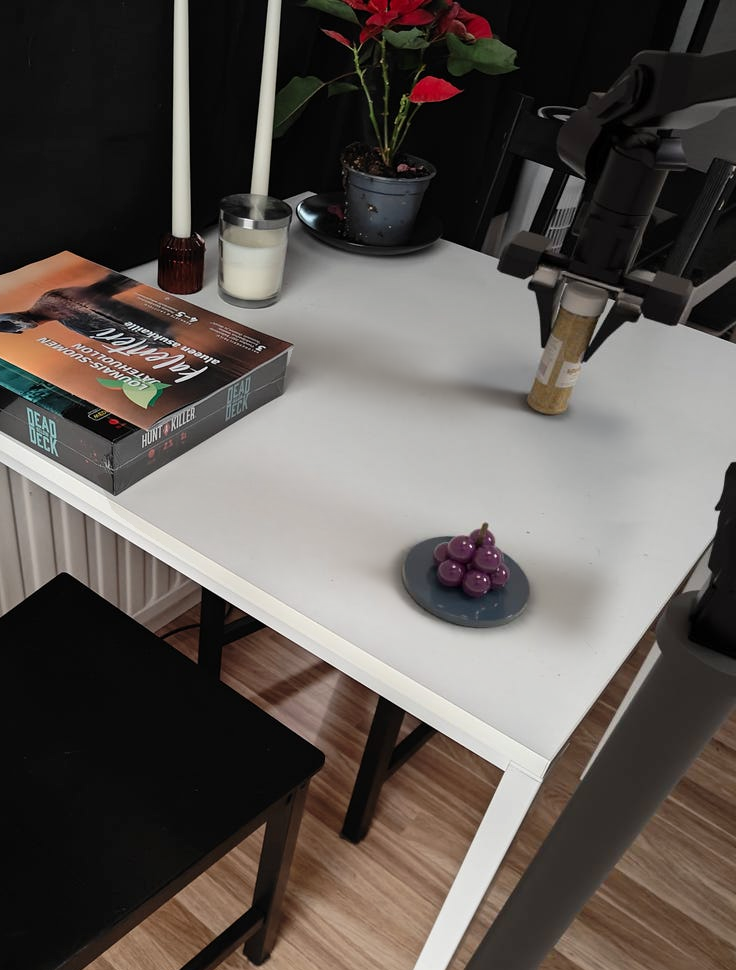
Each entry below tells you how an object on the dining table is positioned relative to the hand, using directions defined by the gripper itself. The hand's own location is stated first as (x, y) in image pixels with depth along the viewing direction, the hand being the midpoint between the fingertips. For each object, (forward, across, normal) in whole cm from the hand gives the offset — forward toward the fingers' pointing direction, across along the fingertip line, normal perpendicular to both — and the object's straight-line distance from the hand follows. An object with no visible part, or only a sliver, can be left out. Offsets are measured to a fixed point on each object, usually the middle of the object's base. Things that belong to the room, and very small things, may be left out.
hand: (564, 353), depth 97 cm
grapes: (+6, -2, +35) cm, 36 cm away
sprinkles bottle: (+6, 0, 0) cm, 7 cm away
